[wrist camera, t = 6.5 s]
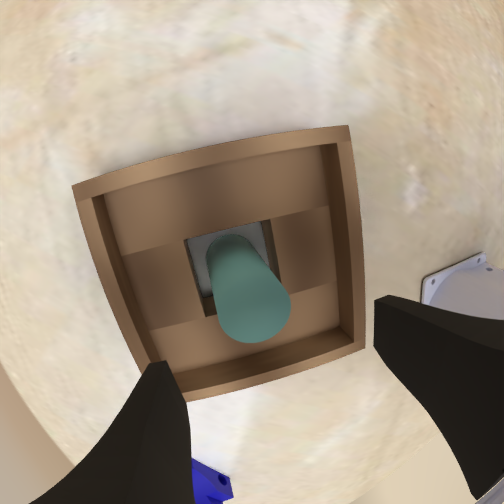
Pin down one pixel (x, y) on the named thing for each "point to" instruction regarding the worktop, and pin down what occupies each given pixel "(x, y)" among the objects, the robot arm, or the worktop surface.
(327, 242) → the peg box
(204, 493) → the cable clip
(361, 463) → the worktop surface
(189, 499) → the robot arm
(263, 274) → the peg
